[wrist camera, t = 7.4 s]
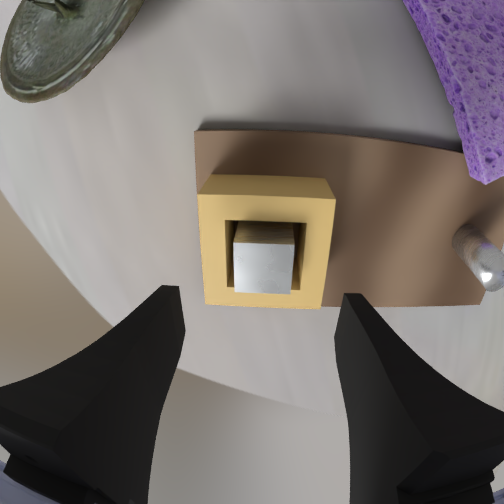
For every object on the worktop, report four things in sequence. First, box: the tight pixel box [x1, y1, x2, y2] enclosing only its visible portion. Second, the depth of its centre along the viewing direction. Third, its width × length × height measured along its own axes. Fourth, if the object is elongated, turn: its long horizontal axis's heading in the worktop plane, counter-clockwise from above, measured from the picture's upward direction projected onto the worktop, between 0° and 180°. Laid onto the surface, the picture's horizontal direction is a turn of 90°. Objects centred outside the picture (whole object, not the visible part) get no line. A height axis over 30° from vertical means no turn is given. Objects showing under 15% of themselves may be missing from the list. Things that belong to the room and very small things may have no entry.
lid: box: [0, 0, 144, 103], centre depth 10 cm, size 11×10×5 cm
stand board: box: [194, 129, 504, 307], centre depth 15 cm, size 19×10×5 cm, turn 89°
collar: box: [197, 174, 336, 309], centre depth 16 cm, size 6×6×3 cm
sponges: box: [403, 0, 504, 185], centre depth 10 cm, size 7×13×2 cm, turn 27°
